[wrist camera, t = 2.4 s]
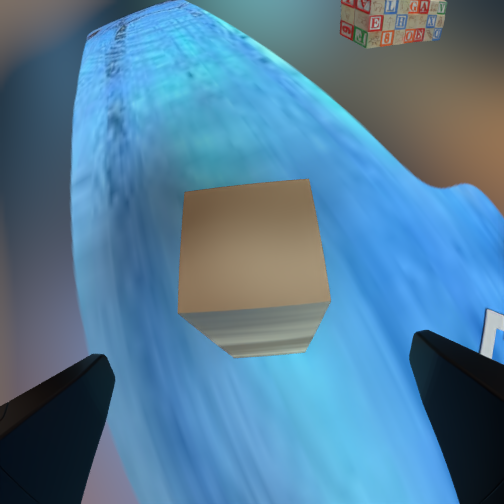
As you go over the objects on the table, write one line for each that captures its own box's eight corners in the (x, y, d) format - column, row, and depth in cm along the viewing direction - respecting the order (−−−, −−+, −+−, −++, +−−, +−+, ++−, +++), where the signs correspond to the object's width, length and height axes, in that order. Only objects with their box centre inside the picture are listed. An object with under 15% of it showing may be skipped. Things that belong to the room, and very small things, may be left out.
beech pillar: (305, 352, 18) (331, 301, 9) (234, 357, 19) (177, 313, 9) (298, 286, 20) (308, 178, 11) (231, 291, 21) (184, 191, 11)
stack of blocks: (415, 27, 41) (423, -23, 30) (440, 41, 38) (450, -11, 27) (338, 34, 38) (341, -31, 27) (366, 49, 35) (373, -22, 24)
